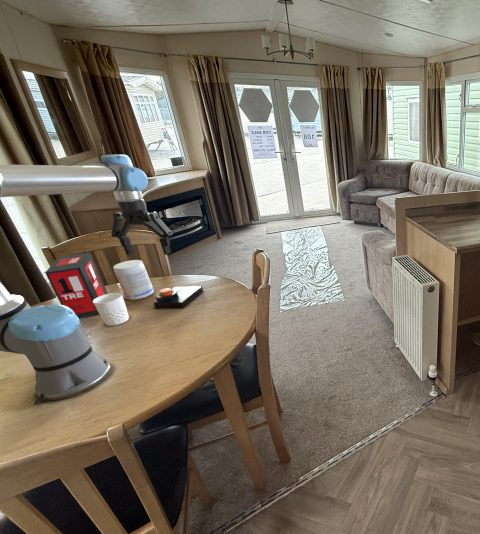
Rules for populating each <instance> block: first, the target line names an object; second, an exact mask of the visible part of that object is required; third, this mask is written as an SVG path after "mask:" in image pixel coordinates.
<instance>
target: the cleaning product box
mask: <svg viewBox="0 0 480 534" xmlns="http://www.w3.org/2000/svg"><path fill="white" fill-rule="evenodd" d="M44 274H45V275H46V277H47V279H48V281H49V284H50V286H51V287H52V289H53V291H54V293H55V295H56V298H57V299H58V301H59V303H60V305H63V306H66V307H69V308H70V309H72V310H73V312H74V313H75V315H77V317H78V318H79V319H83V318H88V317H93V316H94V317H95V316H98V315H99V316H100V314H99V312H98V311H97V309H96V307H95V305H94V303H93V300H94V299H96V298H97V297H100V296H102V295H105V294H109V293H108V290H107V288H106V286H105V283H104V282H103V279H102V276H101V274H100V272H99V270H98V267H97V265H96V263H95V260H94V258H93V256H92V253H91V252H86V253H85V252H84V253H78V254H69V255H62V256H58V257H57V259H55V261H54V262H53V263H52V264H51V265H50V266H49V267H48V269H47V270H46V271H45V272H44Z"/></svg>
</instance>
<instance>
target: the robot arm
mask: <svg viewBox="0 0 480 534" xmlns="http://www.w3.org/2000/svg"><path fill="white" fill-rule="evenodd" d="M100 160H101V162H98V163H88V164H79V165H77V164H74V165H56V164H55V165H52V164H51V165H50V164H49V165H48V164H0V199H1V198H13V197H26V196H27V197H30V196H31V197H32V196H51V195H68V194H85V193H86V194H87V193H104V192H105V193H107V192H112V193H113V195H114V199H115V200H116V201H117V202H116V203H117V206H118V208H119V211H116V212H113V213H112V218H113V224H112V229H111V233H110V234H111V235H110V236H111V237H112V238H117V239H118V240H119V243H120V245H121V247H123V249H124V251H125V253H126V254H125V255H126V256H130V255H132V254H134V253H135V250H134V247H133V245H132V242H131V240H130V237H129V236H128V233H129V231H130V229H131V228H132V226H136V225H138V226H142V225H143V226H144V227H147V228H148V229H149V230H150V231H152V232H153V233H154V234H156V235H157V236H158V237H159V243H160V245H161V248H162V251H163V254H164V256H167V255H169V254H171V253H172V251H171V247H170V245H171V241H170V237H171V236H173V235H174V233H173V231H172V230H171V229H170V228H169V227H168V226H167V224H165V222H164V221H163V220H162V219H161V218H160V216H159V214H158V212H157V211H153V212H148V211H147V204H146V201H145V199H144V196H143V193H142V191H143V190H145V189H146V188H147V187H148V184H149V181H148V176H147V174H146V173H145V172H144V171H143V170H142V169H140V168H138V167H134V164H133V162H132V160H131V157H129V156H128V155H127V154H105V155H101V157H100ZM123 219H124V222H123ZM0 352H3V353H11V354H19V355H24V356H25V357H26V358H27V360H28V362H29V363H30V365H31V367H32V368H33V370H34V373H35V374H34V375H35V387H34V391H35V393H36V395H37V396H38V398H37V399H36V400H35V402H34V403H33V405H35V406H38V405H39V404H40V403H41V401H42V400H43V401H49V402H50V401H51V402H52V401H59V400H65V399H67V398H68V399H69V398H72V397H75V396H77V395H80V394H82V393H86V392H87V391H89V390H91V389H93V388H95V387H96V386H98V385H100V384H101V383H102V382H103V381H105V380H106V379H107V378H108V377H109V376H110V374H111V372H112V366H111V364H110V362H109V361H108V360H106V359H105V358H104V357H103V356H101V355H100V354H99V353H98V352H97V351H95V350H94V349H93V347H92V345H91V343H90V341H89V338H88V336H87V334H86V333H85V331H84V328H83V326H82V324H81V322H80V318H78V317H77V315H75V313H74V312H73V310H72V309H70V308H69V307H66V306H63V305H61V304H47V305H37V306H34V307H31V306H30V304H29V303H28V302H27V301H26V299H25V298H24V297H23V296H21V295H18V294H11V293H10V292H9V291H8V289H7V288H6V286H5V285H4V284H3V283H2V282H1V281H0Z"/></svg>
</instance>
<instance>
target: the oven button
mask: <svg viewBox="0 0 480 534" xmlns="http://www.w3.org/2000/svg"><path fill="white" fill-rule="evenodd" d="M171 289H172V288H171V287H165V288H162V289H160V290H159V291H158V293H160V296H161V297H164V296H169V295H171V294H173V293H172V290H171Z"/></svg>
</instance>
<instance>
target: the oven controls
mask: <svg viewBox="0 0 480 534" xmlns="http://www.w3.org/2000/svg"><path fill="white" fill-rule="evenodd" d="M171 290H172V293H173V294H171V295H169V296H164V297H161V296H160V293H159V292H158V293H156V294H155V301H153V302H152V303H153V306H154V309H184V308H186V307H187V306H188V305H190V303H192V302H193V301H194V300H195V299H196V298H198V297H200V295H201V294H202V293H204V288H203V286H202V285H201V286H200V285H198V286H197V285H194V286H193V285H191V286H190V285H189V286H188V285H187V286H186V285H184V286H183V285H182V286H179V285H177V286H174V287H173V288H171Z"/></svg>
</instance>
